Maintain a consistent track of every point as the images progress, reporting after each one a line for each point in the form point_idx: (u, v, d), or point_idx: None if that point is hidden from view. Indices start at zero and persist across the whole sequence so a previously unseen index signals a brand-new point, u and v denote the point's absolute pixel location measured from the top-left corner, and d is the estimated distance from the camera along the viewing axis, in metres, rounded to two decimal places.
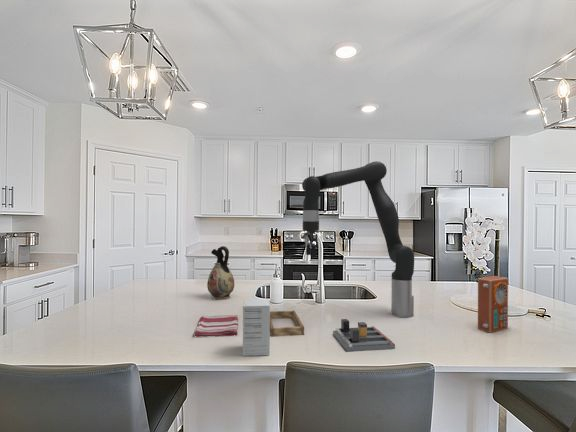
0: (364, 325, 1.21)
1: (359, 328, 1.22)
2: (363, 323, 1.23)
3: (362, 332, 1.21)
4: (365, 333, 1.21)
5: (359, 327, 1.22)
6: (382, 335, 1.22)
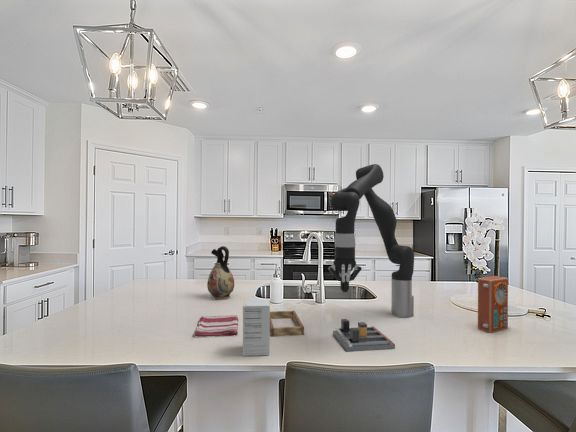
0: (364, 325, 1.21)
1: (359, 328, 1.22)
2: (363, 323, 1.23)
3: (362, 332, 1.21)
4: (365, 333, 1.21)
5: (359, 327, 1.22)
6: (382, 335, 1.22)
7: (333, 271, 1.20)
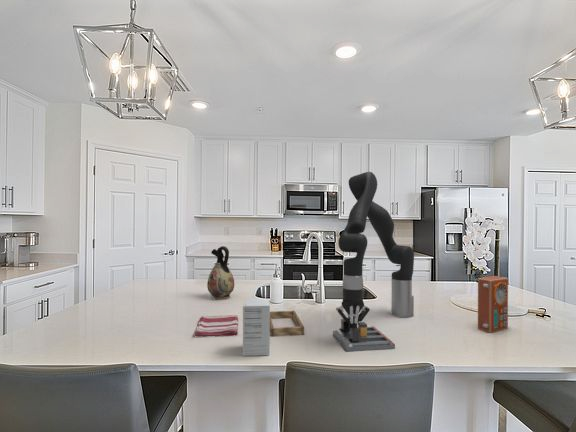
0: (364, 325, 1.21)
1: (359, 328, 1.22)
2: (363, 323, 1.23)
3: (362, 332, 1.21)
4: (365, 333, 1.21)
5: (359, 327, 1.22)
6: (382, 335, 1.22)
7: (341, 313, 1.20)
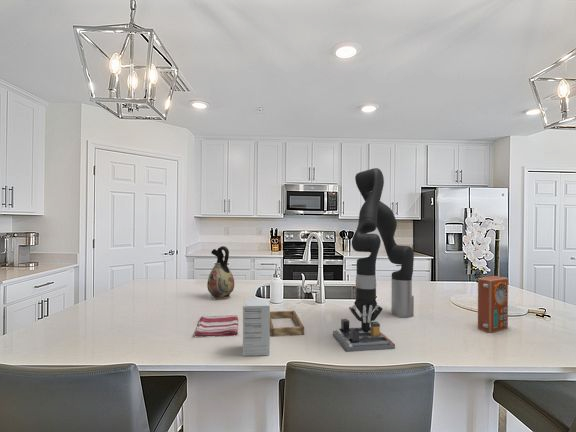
0: (377, 324, 1.22)
1: (372, 327, 1.23)
2: (376, 322, 1.23)
3: (375, 331, 1.22)
4: (378, 332, 1.22)
5: (372, 326, 1.23)
6: (382, 335, 1.22)
7: (354, 312, 1.21)
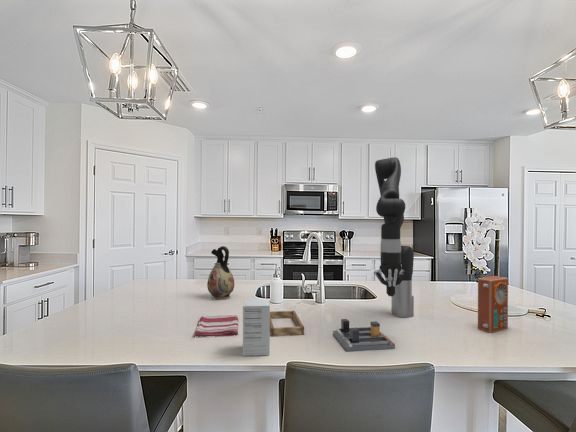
0: (377, 324, 1.22)
1: (372, 327, 1.23)
2: (376, 322, 1.23)
3: (375, 331, 1.22)
4: (378, 332, 1.22)
5: (372, 326, 1.23)
6: (382, 335, 1.22)
7: (380, 276, 1.23)
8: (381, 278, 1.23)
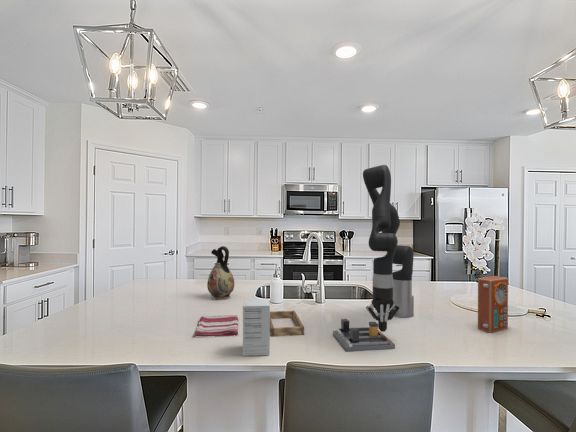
0: (375, 324, 1.22)
1: (370, 327, 1.23)
2: (374, 322, 1.23)
3: (373, 331, 1.22)
4: (376, 332, 1.22)
5: (370, 326, 1.23)
6: (382, 335, 1.22)
7: (372, 311, 1.22)
8: (373, 313, 1.22)
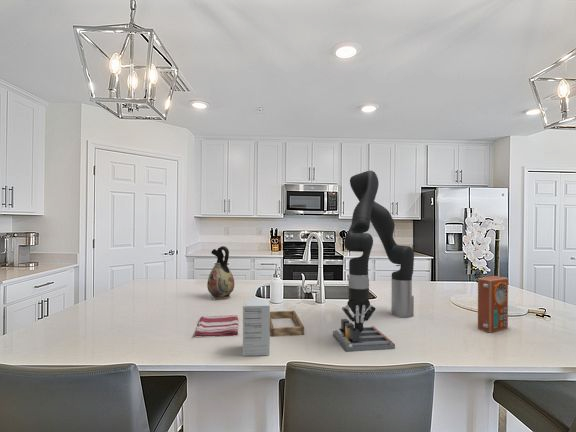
0: (351, 326, 1.21)
1: (346, 329, 1.21)
2: (350, 324, 1.22)
3: (349, 333, 1.20)
4: None
5: (346, 328, 1.21)
6: (382, 335, 1.22)
7: (347, 312, 1.20)
8: (348, 314, 1.20)
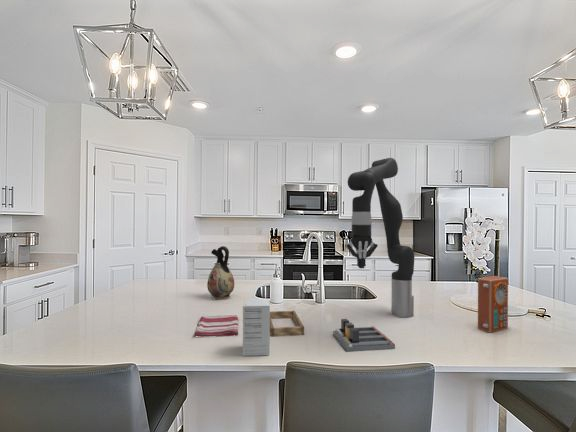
0: (351, 326, 1.21)
1: (346, 329, 1.21)
2: (350, 324, 1.22)
3: (349, 333, 1.20)
4: None
5: (346, 328, 1.21)
6: (382, 335, 1.22)
7: (350, 248, 1.25)
8: (351, 250, 1.25)
